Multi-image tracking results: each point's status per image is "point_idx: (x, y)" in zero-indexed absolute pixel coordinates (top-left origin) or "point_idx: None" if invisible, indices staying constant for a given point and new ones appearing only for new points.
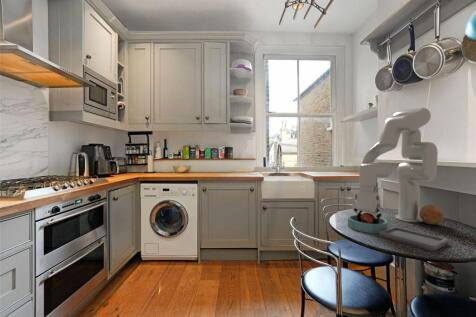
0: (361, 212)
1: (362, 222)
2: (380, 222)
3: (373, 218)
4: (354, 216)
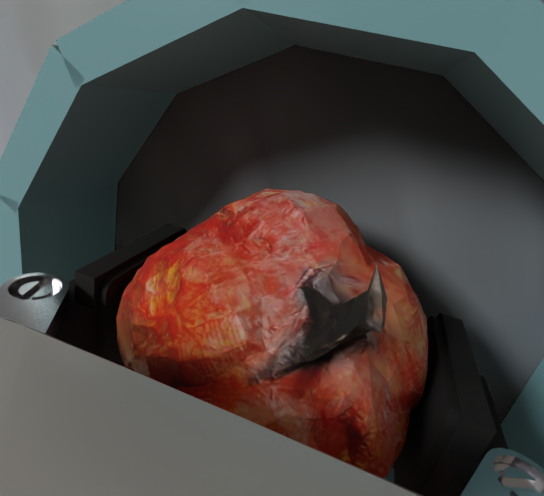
0: (60, 308)
1: (175, 93)
2: (493, 104)
3: (389, 466)
4: (35, 221)
